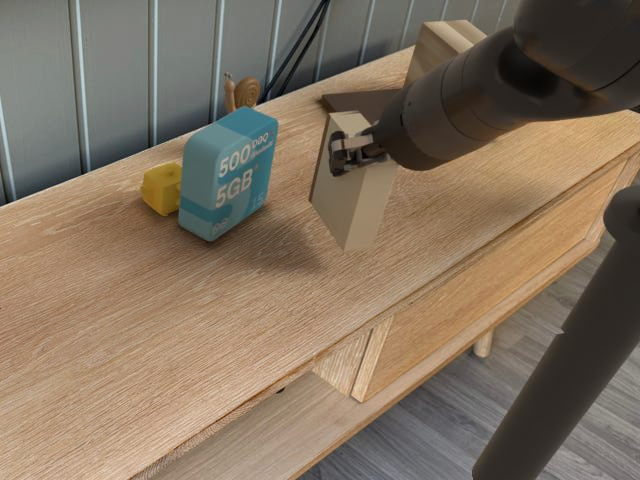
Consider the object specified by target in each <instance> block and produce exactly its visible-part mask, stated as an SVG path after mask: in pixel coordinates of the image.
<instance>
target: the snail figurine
mask: <svg viewBox="0 0 640 480" xmlns="http://www.w3.org/2000/svg"><path fill="white" fill-rule="evenodd" d="M223 74H224V77H225V78H224V84H223V90H224V104H225V110H226V112H227V115H228V114H230V113H232V112H234V111H235V110H237V109H239V108H241V107H243V106H247V107H249V108H251V109H254V110H255V108H256V106H257V102H258V99H259V97H260V94H261V85H260V82H259V80H258V79H257V78H255V77H254V76H247V77H244V78H243V79H241V80H240V81H239V82H237V84H236V85H235V82H234V81H233V80H231V79H233V74H232V73H229V72H228V71H225V72H224V73H223ZM227 78H228V80H227Z"/></svg>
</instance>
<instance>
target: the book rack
mask: <svg viewBox="0 0 640 480" xmlns="http://www.w3.org/2000/svg"><path fill="white" fill-rule="evenodd" d="M487 36H488V35H487V34H486V33H484V32H483V31H482V30H480V29H479V28H478V27H476V26H475V25H474V24H472V23H471V22H470V21H468V20H467V19H457V20H455V19H453V20H441V21H439V20H438V21H423V22H421V25H420V29H419V32H418V36H417V38H416V42H415V45H414V48H413V52H412V55H411V58H410V61H409V65H408V69H407V72H406V75H405V79H404V82H403V85H402V87H400V88H388V89H375V90H362V91H350V92H336V93H324V94H323V93H322V94H321V99H320V101H321V102H322V104H323V105H324V106H325V107H326V109H327V110H328V111H329V113H334V112H345V111H356V110H358V111H359V112H360V113H361V115H362V116H363V117H364V118H365V119H366V120H367V121H368V123H369V124H370V125H371V126H373V124H374V122H376V121H378V120H379V119H380V117H381V115H382V112H383V110H384V108H385V106H386V104H387V103H388V101H389V100H390V99H391V98H392V97H393V96H394V95H395V94H396V93H397V92H399V91H400V90H402V89H403V88H405V87H406V86H408V85H409V84H411V83H412V82H414V81H415V80H417V79H418V78H420V77H421V76H423V75H424V74H426V73H427V72H429V71H430V70H432V69H433V68H435V67H436V66H438V65H439V64H441V63H443V62H444V61H447V60H449V59H451V58H453V57H456V56H458V55H460V54H462V53H463V52H465V51H466V50H468V49H469V48H471V47H472V46H474V45H475V44H477V43H478V42H480V41H481V40H483V39H484V38H486V37H487Z"/></svg>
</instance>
